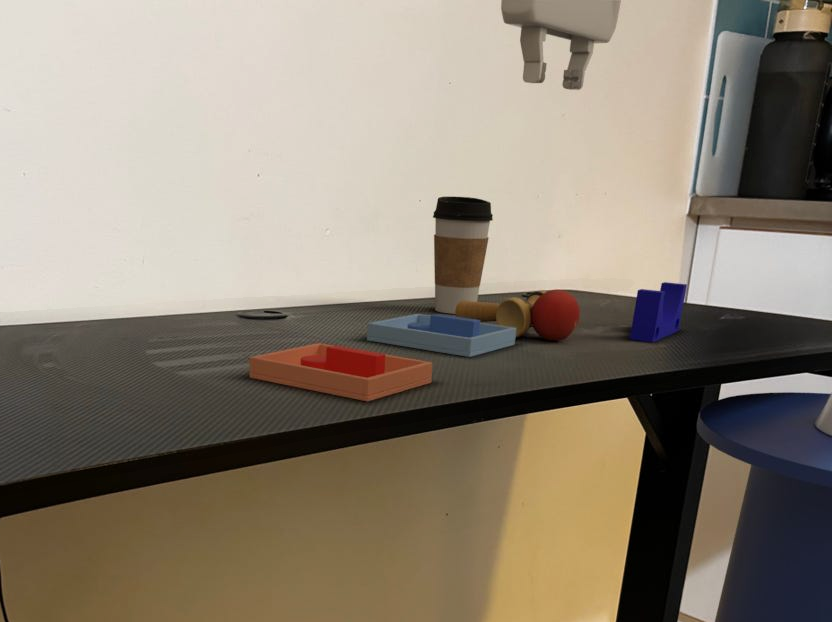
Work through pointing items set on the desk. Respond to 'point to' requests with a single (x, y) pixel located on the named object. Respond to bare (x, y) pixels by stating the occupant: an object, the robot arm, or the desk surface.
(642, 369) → the desk surface
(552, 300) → the kendama
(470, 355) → the blue tray
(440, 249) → the coffee cup
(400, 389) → the red tray
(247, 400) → the desk surface
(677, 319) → the cable clip
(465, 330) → the blue stepped block
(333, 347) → the red stepped block
